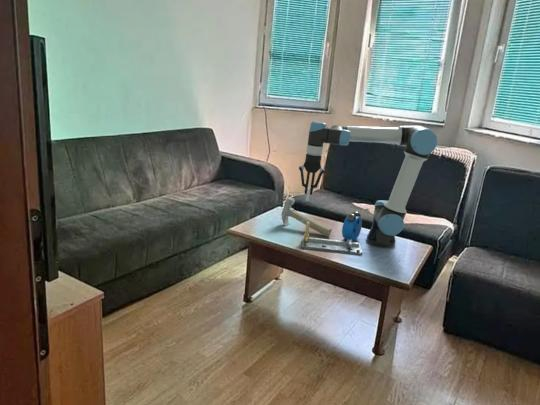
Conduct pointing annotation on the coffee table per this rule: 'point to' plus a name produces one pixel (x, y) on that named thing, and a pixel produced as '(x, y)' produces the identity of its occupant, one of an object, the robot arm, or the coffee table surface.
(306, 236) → the sliding leg
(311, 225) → the hammer
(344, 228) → the alarm clock
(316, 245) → the bolt plate
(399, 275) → the coffee table surface
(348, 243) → the bar
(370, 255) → the coffee table surface
